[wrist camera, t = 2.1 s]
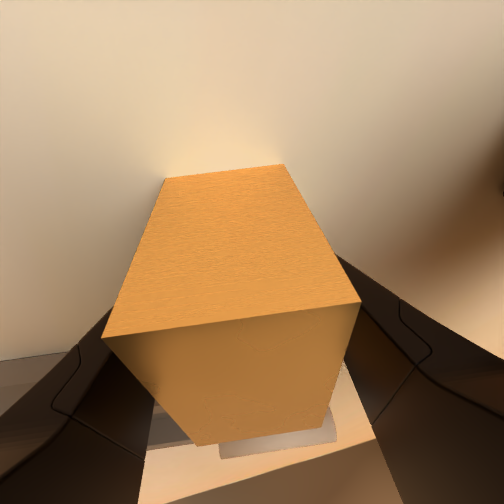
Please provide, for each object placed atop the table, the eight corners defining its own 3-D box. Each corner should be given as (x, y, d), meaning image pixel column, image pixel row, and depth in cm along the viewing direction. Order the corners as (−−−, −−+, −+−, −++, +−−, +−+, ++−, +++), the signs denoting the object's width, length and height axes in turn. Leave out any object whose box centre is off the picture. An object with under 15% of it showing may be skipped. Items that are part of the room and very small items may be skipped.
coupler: (165, 177, 8) (100, 337, 4) (283, 163, 8) (361, 301, 4) (204, 299, 12) (197, 446, 8) (283, 288, 13) (321, 427, 8)
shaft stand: (317, 317, 14) (352, 410, 11) (307, 387, 21) (326, 460, 17) (-71, 371, 14) (-178, 490, 10) (42, 426, 20) (2, 511, 16)
